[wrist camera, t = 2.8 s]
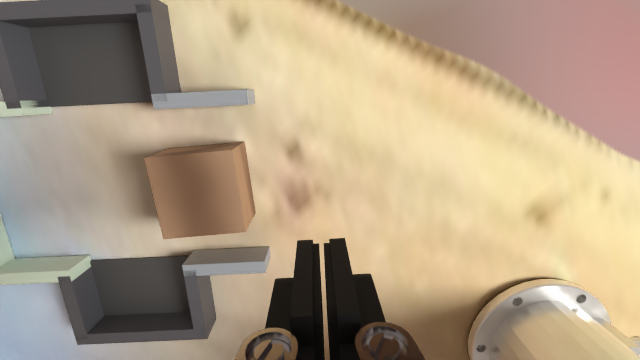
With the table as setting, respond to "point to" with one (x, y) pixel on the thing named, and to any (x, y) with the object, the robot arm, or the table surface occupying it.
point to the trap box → (110, 88)
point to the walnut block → (201, 190)
